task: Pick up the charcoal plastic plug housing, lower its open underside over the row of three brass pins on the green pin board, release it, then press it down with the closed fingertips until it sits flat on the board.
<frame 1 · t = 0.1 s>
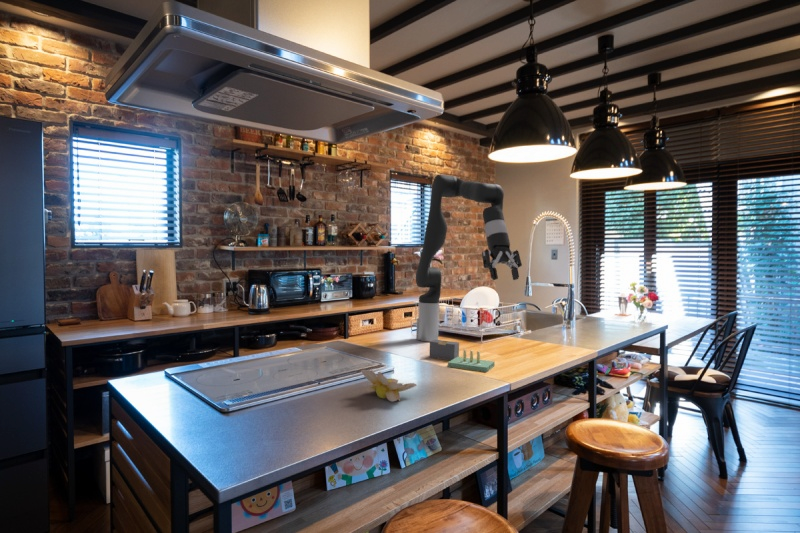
hand: (505, 279, 153), 31 cm above the counter, tool tilted 20°, fingers open, 8 cm apart
decorative flower: (389, 398, 123), on the counter
plug housing: (444, 357, 172), on the counter
pin board: (471, 366, 159), on the counter
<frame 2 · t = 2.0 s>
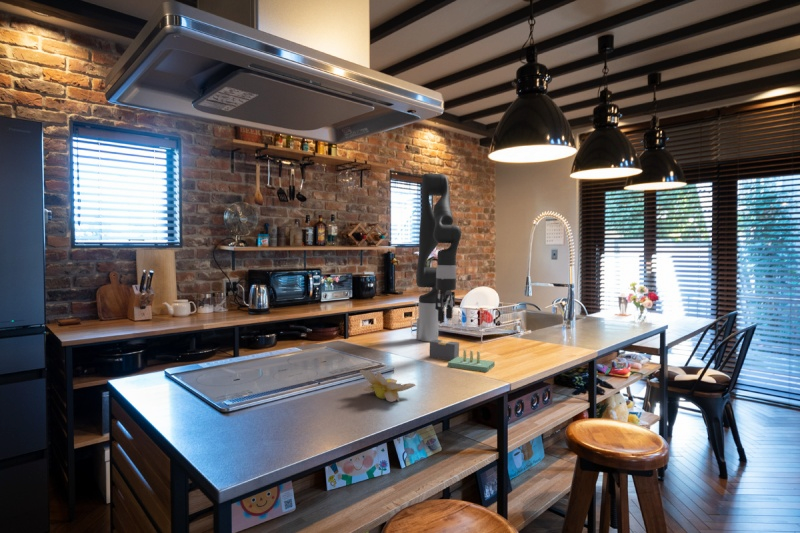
hand: (445, 319, 171), 15 cm above the counter, tool pointing down, fingers open, 8 cm apart
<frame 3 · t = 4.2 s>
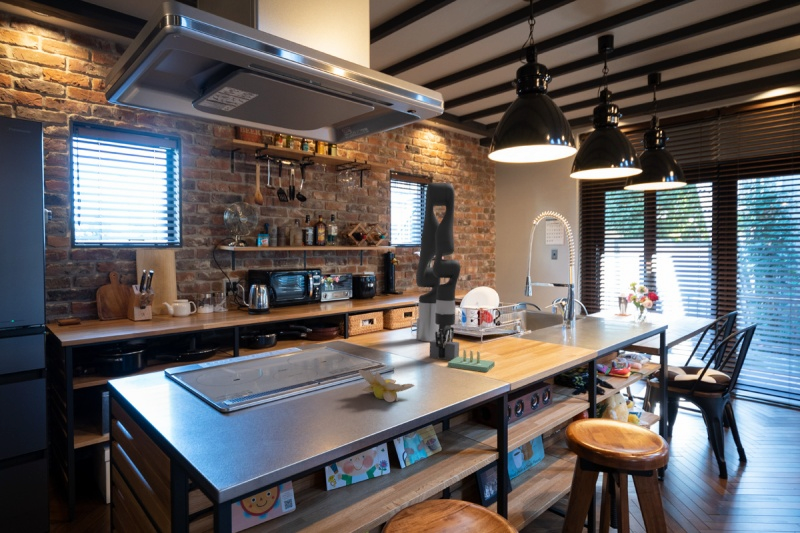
hand: (444, 356, 172), 1 cm above the counter, tool pointing down, fingers closed on plug housing, 5 cm apart
plug housing: (444, 357, 172), on the counter, touching gripper
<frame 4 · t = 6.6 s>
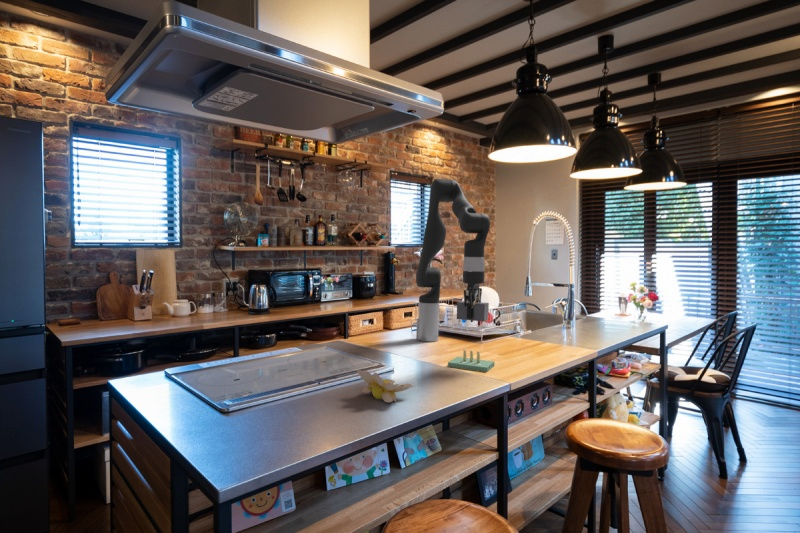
hand: (472, 317, 159), 17 cm above the counter, tool pointing down, fingers closed on plug housing, 5 cm apart
plug housing: (472, 319, 159), point 17 cm above the counter, touching gripper
when the fingers open (3 cm above the counter, at t = 9.4 s): plug housing stays where it is, resting on pin board.
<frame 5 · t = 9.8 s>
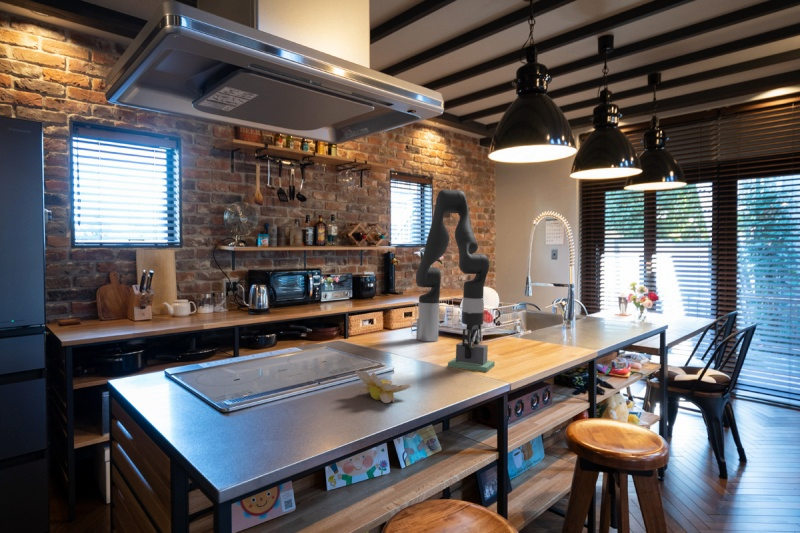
hand: (471, 356, 159), 4 cm above the counter, tool pointing down, fingers open, 8 cm apart
plug housing: (471, 361, 160), point 2 cm above the counter, touching pin board
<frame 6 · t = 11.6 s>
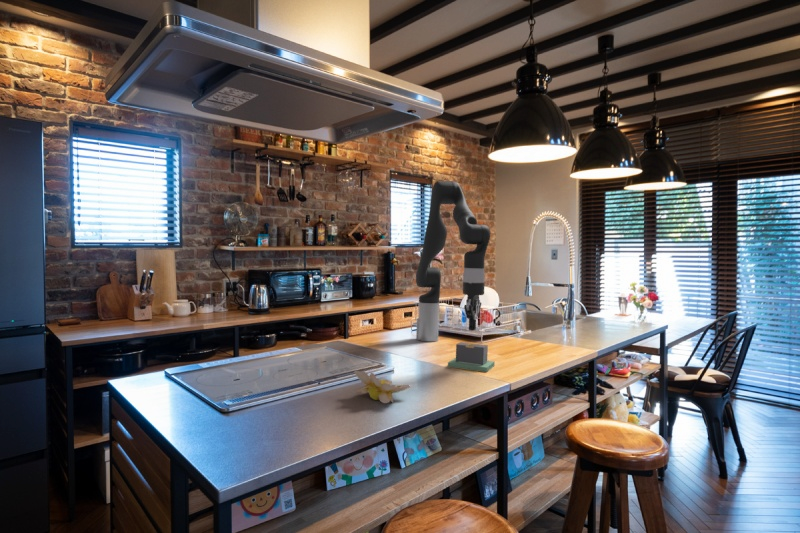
hand: (472, 329, 159), 13 cm above the counter, tool pointing down, fingers closed
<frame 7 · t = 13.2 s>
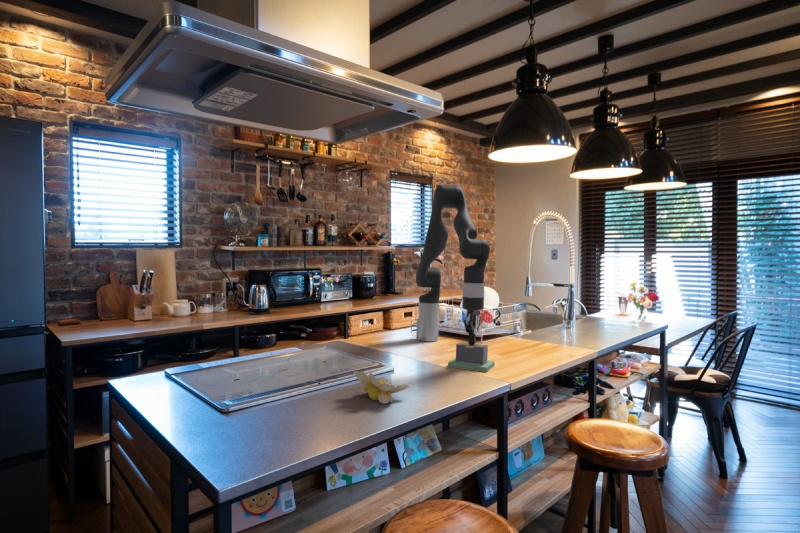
hand: (471, 344, 159), 8 cm above the counter, tool pointing down, fingers closed
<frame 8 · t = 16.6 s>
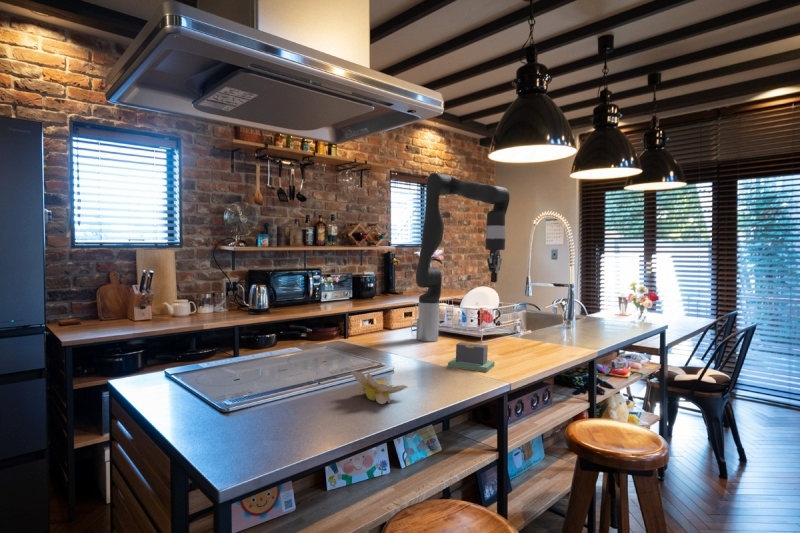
hand: (494, 282, 176), 29 cm above the counter, tool pointing down, fingers closed
at the end: plug housing 0.1 cm off-centre on the pin board, point 1.6 cm above the pin board's base; plug housing tilted 1°; the gripper is holding nothing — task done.
